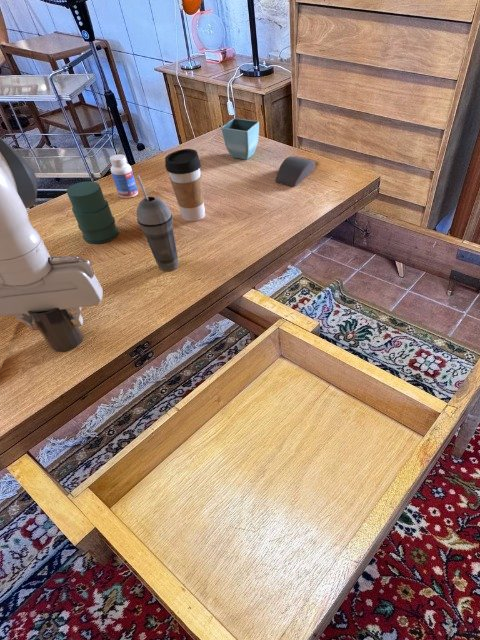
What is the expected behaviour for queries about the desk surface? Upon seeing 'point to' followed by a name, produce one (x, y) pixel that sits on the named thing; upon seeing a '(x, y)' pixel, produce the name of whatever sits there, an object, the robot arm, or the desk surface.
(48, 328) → the charcoal cup
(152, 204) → the beverage cup
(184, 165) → the coffee cup
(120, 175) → the pill bottle
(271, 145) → the desk surface
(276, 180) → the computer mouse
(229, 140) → the flower pot
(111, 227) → the cup stack
